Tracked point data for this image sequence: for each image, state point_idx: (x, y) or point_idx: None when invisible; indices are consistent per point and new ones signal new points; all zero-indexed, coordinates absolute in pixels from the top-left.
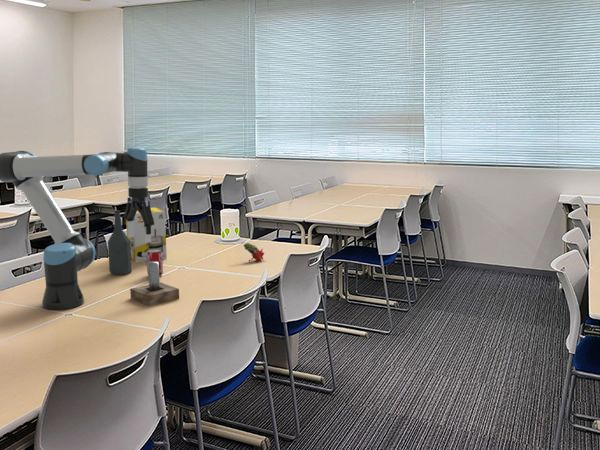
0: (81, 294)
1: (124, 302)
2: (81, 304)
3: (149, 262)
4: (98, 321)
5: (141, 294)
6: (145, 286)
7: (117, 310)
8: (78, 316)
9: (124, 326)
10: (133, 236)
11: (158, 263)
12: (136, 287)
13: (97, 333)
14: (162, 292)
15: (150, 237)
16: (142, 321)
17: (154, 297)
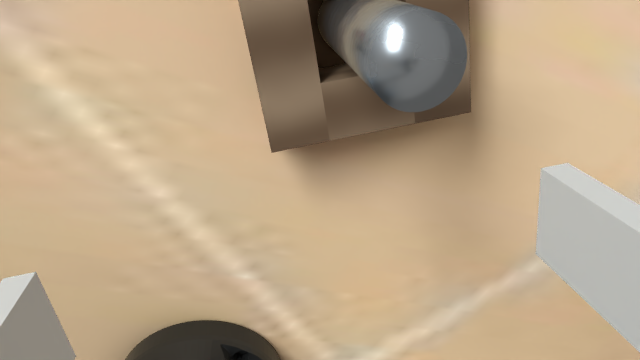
0: (225, 356)
1: (322, 177)
2: (255, 333)
3: (400, 94)
4: (496, 309)
5: (398, 124)
6: (273, 58)
7: (419, 229)
8: (394, 353)
9: None
10: (44, 293)
11: (447, 18)
12: (264, 113)
13: (600, 327)
14: (466, 14)
15: (617, 203)
16: (615, 183)
17: None
